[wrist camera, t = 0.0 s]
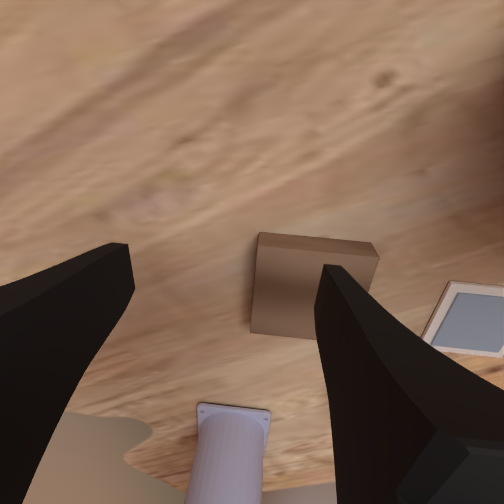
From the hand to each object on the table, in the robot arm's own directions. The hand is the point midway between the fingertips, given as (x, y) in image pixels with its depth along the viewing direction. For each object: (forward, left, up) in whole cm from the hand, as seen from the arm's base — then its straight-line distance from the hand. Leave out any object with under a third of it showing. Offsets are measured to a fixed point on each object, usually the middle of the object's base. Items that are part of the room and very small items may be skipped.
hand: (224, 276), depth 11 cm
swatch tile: (-9, -19, -10) cm, 23 cm away
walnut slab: (-7, -5, -11) cm, 14 cm away
